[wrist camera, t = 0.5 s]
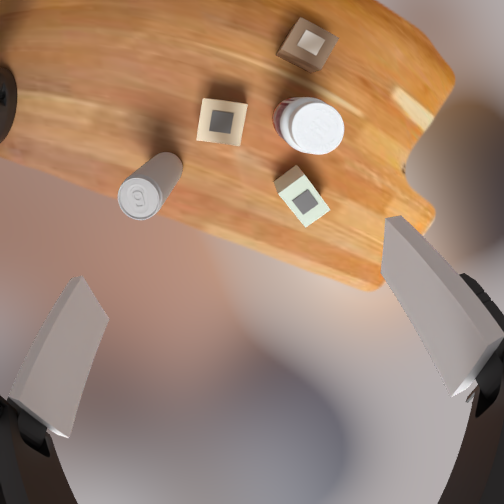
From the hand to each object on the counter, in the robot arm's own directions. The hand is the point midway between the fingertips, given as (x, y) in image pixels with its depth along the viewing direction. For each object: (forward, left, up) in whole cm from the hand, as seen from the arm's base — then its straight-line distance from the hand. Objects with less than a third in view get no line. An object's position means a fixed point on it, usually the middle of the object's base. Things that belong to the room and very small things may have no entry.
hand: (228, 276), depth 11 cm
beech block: (-4, +2, -28) cm, 28 cm away
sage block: (+10, +1, -28) cm, 30 cm away
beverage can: (-6, -8, -28) cm, 29 cm away
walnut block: (-3, +16, -28) cm, 32 cm away
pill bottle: (+3, +8, -28) cm, 29 cm away
